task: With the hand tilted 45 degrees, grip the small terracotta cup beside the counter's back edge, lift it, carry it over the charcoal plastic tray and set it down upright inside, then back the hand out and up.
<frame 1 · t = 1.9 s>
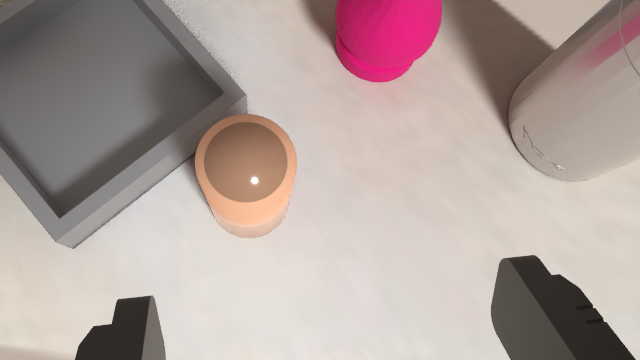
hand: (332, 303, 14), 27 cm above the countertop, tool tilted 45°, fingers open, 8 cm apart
pepper mill: (375, 46, 45), on the countertop
terracotta cup: (249, 199, 41), on the countertop
charcoal tray: (97, 99, 41), on the countertop
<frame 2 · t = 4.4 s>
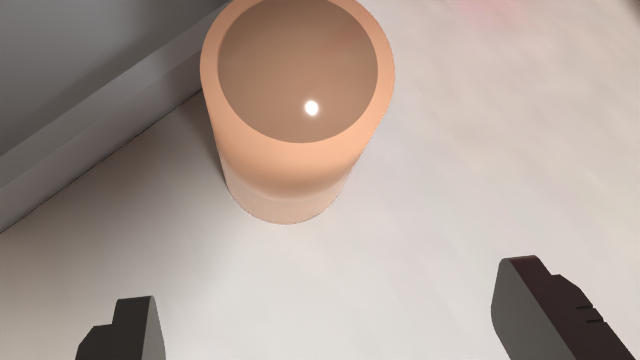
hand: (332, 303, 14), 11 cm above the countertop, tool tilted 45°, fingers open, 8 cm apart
terracotta cup: (284, 163, 26), on the countertop
charcoal tray: (49, 3, 27), on the countertop
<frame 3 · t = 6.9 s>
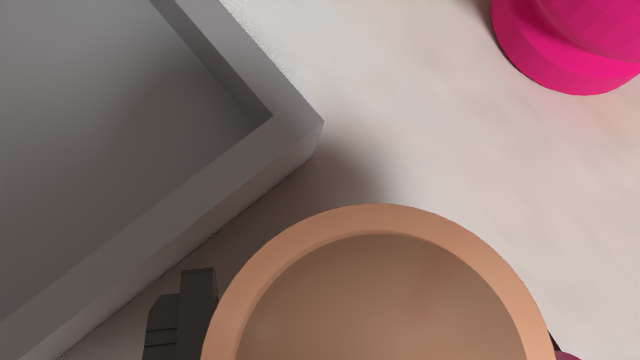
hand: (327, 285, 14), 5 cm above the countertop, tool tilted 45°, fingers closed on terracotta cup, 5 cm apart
pepper mill: (566, 22, 22), on the countertop
terracotta cup: (318, 353, 18), on the countertop, touching gripper
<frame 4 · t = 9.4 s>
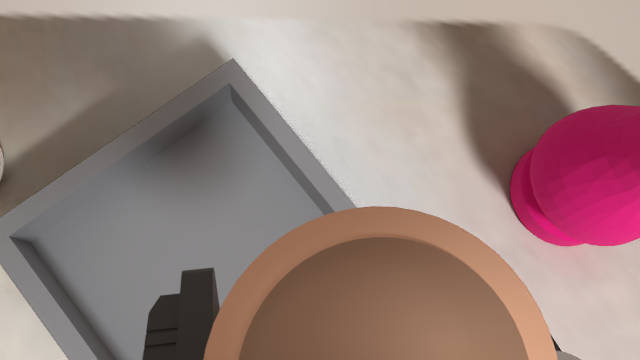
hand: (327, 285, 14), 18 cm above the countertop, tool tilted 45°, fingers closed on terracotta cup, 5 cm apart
pepper mill: (557, 194, 35), on the countertop
terracotta cup: (319, 354, 18), point 13 cm above the countertop, touching gripper
charcoal tray: (209, 264, 32), on the countertop
when the fingers open (7 cm above the countertop, at t = 12.4 s): terracotta cup drops 1 cm, resting on charcoal tray.
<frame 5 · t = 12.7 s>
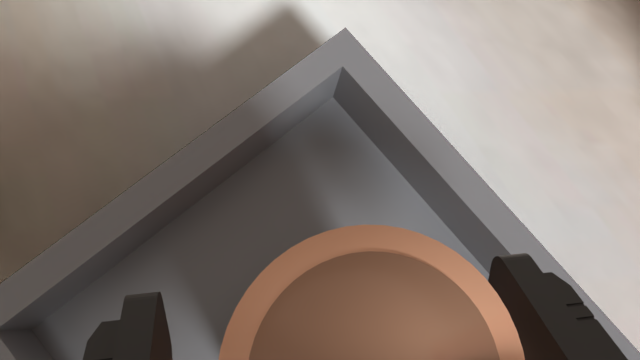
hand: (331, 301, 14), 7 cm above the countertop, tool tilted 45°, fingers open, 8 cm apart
terracotta cup: (316, 355, 20), point 1 cm above the countertop, touching charcoal tray
charcoal tray: (311, 350, 20), on the countertop
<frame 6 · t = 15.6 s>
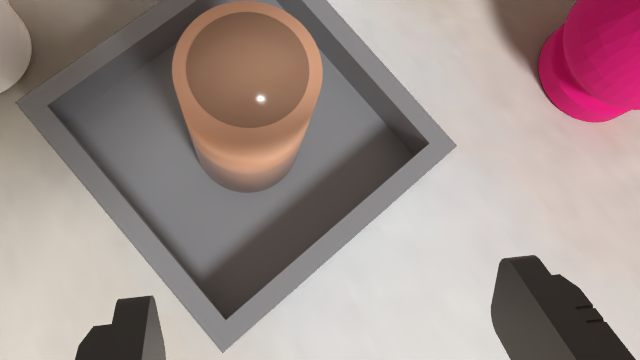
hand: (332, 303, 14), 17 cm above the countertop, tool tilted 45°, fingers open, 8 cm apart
pepper mill: (584, 74, 35), on the countertop
terracotta cup: (247, 142, 31), point 1 cm above the countertop, touching charcoal tray
charcoal tray: (245, 143, 32), on the countertop
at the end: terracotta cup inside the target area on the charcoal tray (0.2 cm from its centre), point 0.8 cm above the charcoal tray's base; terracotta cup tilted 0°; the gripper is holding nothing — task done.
